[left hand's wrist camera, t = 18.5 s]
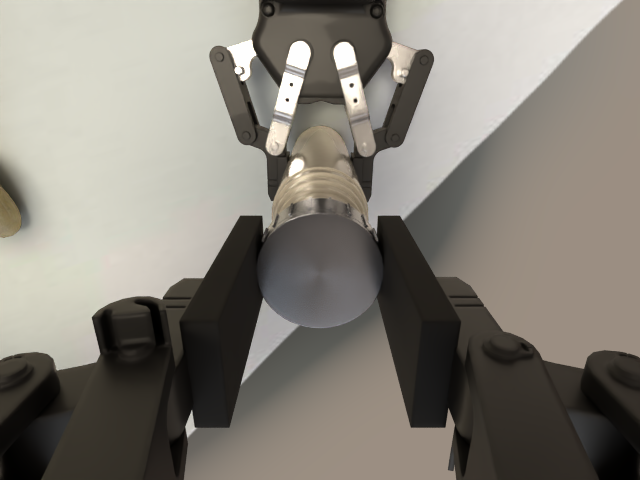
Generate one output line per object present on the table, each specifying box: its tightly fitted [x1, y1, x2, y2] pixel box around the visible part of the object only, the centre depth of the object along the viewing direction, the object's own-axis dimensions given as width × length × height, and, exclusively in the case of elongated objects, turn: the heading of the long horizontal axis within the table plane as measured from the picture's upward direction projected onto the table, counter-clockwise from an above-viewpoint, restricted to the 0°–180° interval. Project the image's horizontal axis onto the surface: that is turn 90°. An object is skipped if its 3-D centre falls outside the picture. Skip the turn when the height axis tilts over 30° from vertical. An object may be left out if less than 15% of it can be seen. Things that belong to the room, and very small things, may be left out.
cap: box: [257, 197, 384, 328], centre depth 14 cm, size 4×4×2 cm
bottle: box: [272, 126, 368, 221], centre depth 23 cm, size 4×4×22 cm
